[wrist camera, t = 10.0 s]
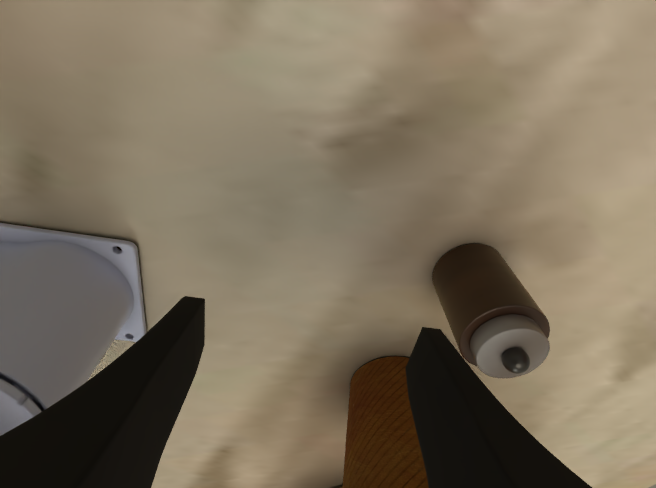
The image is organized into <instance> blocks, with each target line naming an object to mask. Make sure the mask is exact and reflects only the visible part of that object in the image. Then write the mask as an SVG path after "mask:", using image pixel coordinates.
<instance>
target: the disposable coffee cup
mask: <svg viewBox="0 0 656 488" xmlns="http://www.w3.org/2000/svg"><path fill="white" fill-rule="evenodd" d="M408 361H409V358H406V357H397V356H394V357H384V358H380V359H376V360H374V361H371V362H369V363H367V364H365V365H363V366H362V367H361V368H359V369H358V370H357V371H356V372H355V374H354V376H353V378H352V379H351V383H350V398H349V411H348V422H347V434H346V452H345V464H344V477H343V488H429V486H428V480H427V475H426V470H425V465H424V461H423V457H422V453H421V448H420V444H419V440H418V436H417V432H416V428H415V423H414V419H413V415H412V411H411V406H410V402H409V397H408V389H407V380H406V369H405V368H406V366H407V363H408Z"/></svg>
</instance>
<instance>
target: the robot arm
mask: <svg viewBox="0 0 656 488" xmlns="http://www.w3.org/2000/svg"><path fill="white" fill-rule="evenodd" d="M116 246H118V247H120V248H121V249H122V250H119V249H118V248H117V247H116ZM204 327H205V299H203V298H195V297H187V296H185V297H183V298H182V299H181V300H180V301H179V302H178V303H177V304H176V305H175V306H174V307H173V308H172V309H171V310H170V311H169V312H168V313H167V314H166V315H165V316H164V317H163V318H162V319H161V320H160V321H159V322H158V323H157V324H156V325H155V326H154V327H152V328H151V329H150V330H149V331H148V332H146V322H145V313H144V304H143V294H142V285H141V275H140V266H139V256H138V249H137V246H136V245H135V244H134V243H132V242H130V241H125V240H118V239H111V238H104V237H97V236H90V235H83V234H76V233H69V232H62V231H54V230H47V229H40V228H33V227H26V226H19V225H12V224H5V223H0V488H151V486H152V483H153V480H154V477H155V473H156V470H157V467H158V464H159V461H160V458H161V455H162V453H163V450H164V448H165V445H166V442H167V440H168V438H169V435H170V433H171V431H172V428H173V426H174V424H175V421H176V419H177V417H178V414H179V412H180V410H181V407H182V405H183V403H184V400H185V398H186V396H187V393H188V391H189V389H190V386H191V384H192V381H193V379H194V377H195V374H196V371H197V368H198V364H199V361H200V358H201V354H202V351H203V347H204ZM131 334H132V335H131ZM114 339H117V340H125V341H134V342H136V343H135V344H134V345H133V346H131V347H130V348H129V349H128V350H127V351H125V352H124V353H123V354H122V355H121V356H119V357H118V358H117V359H116V360H114V361H113V362H112V363H111V364H110V365H108V366H107V367H106V368H104V369H103V370H102V371H101V372H99V373H98V374H97V375H95V376H94V377H93V378H91V379H90V380H88V379H89V377H90V376H91V374H92V373H93V371H94V370H95V368H96V367H97V365H98V364H99V362H100V361H101V359H102V357H103V356H104V354H105V353H106V351H107V350H108V348H109V347H110V345H111V344H112V342H113V341H114ZM405 369H406V380H407V389H408V397H409V402H410V406H411V411H412V415H413V419H414V423H415V428H416V432H417V436H418V440H419V444H420V448H421V453H422V457H423V461H424V465H425V470H426V475H427V480H428V486H429V488H592V487H591V486H589V485H588V484H587V483H586V482H584V481H583V480H582V479H581V478H580V477H578V476H577V475H576V474H575V473H573V472H572V471H571V470H570V469H569V468H568V467H566V466H565V465H564V464H563V463H562V462H561V461H559V460H558V459H557V458H556V457H555V456H554V455H553V454H551V453H550V452H549V451H548V450H547V449H546V448H545V447H544V446H543V445H542V444H540V443H539V442H538V441H537V440H536V439H535V438H534V437H533V436H532V435H531V434H530V433H529V432H528V431H527V430H526V429H525V428H524V427H523V426H522V425H521V424H520V423H519V422H518V421H517V420H516V419H515V418H514V417H513V416H512V415H511V414H510V413H509V412H508V411H507V410H506V409H505V407H504V406H503V405H502V404H501V403H500V402H499V401H498V400H497V399H496V398H495V396H494V395H493V394H492V393H491V392H490V391H489V390H488V388H487V387H486V386H485V385H484V384H483V382H482V381H481V380H480V379H479V378H478V376H477V375H476V374H475V373H474V372H473V370H472V369H471V368H470V367H469V365H468V364H467V363H466V362H465V360H464V359H463V358H462V356H461V355H460V354H459V353H458V351H457V350H456V349H455V348H454V346H453V345H452V344H451V342H450V341H449V340H448V339H447V337H446V336H445V335H444V334H443V332H442V331H441V330H440V329H433V328H426V327H422V330H421V332H420V335H419V337H418V339H417V342H416V344H415V347H414V349H413V351H412V354H411V356H410V358H409V361H408V363H407V366H406V368H405ZM87 380H88V381H87Z"/></svg>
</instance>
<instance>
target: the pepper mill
mask: <svg viewBox="0 0 656 488" xmlns="http://www.w3.org/2000/svg"><path fill="white" fill-rule="evenodd" d="M432 281H433V285H434V288H435V290H436V293H437V295H438V298H439V300H440V302H441V305H442V307H443V310H444V312H445V315H446V317H447V320H448V322H449V325H450V327H451V330H452V332H453V335H454V337H455V340H456V342H457V345H458V347H459V350H460V352H461V354H462V356H463V357H464V358H465V359H466V360H467V361H468V362H469V363H471V364H473V365H475V366H478V368H479V369H480V370H481V371H482V372H483V373H485V374H486V375H488V376H491V377H495V378H513V377H518V376H521V375H524V374H526V373H529V372H531V371H532V370H534V369H536V368H537V367H538V366H539V365H541V364H542V363H543V361H544V360H545V359H546V357H547V356H548V353H549V348H550V345H549V341H548V337H549V332H550V327H549V322H548V320H547V318H546V316H545V315H544V314H543V312H542V311H541V310H540V308H539V307H538V305H537V304H536V303H535V301H534V300H533V299H532V297H531V296H530V295H529V293H528V292H527V290H526V289H525V288H524V286H523V285H522V284H521V282H520V281H519V280H518V278H517V277H516V275H515V274H514V273H513V271H512V270H511V269H510V267H509V266H508V265H507V263H506V262H505V260H504V259H503V258H502V256H501V255H500V254H499V253H498V252H497V251H496V250H495V249H494V248H492V247H490V246H487V245H483V244H466V245H462V246H459V247H457V248H454V249H452V250H451V251H449V252H448V253H446V254H445V255H444V256H443V257H442V258H441V259H440V260H439V261H438V263H437V264H436V266H435V268H434V271H433V276H432Z"/></svg>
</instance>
